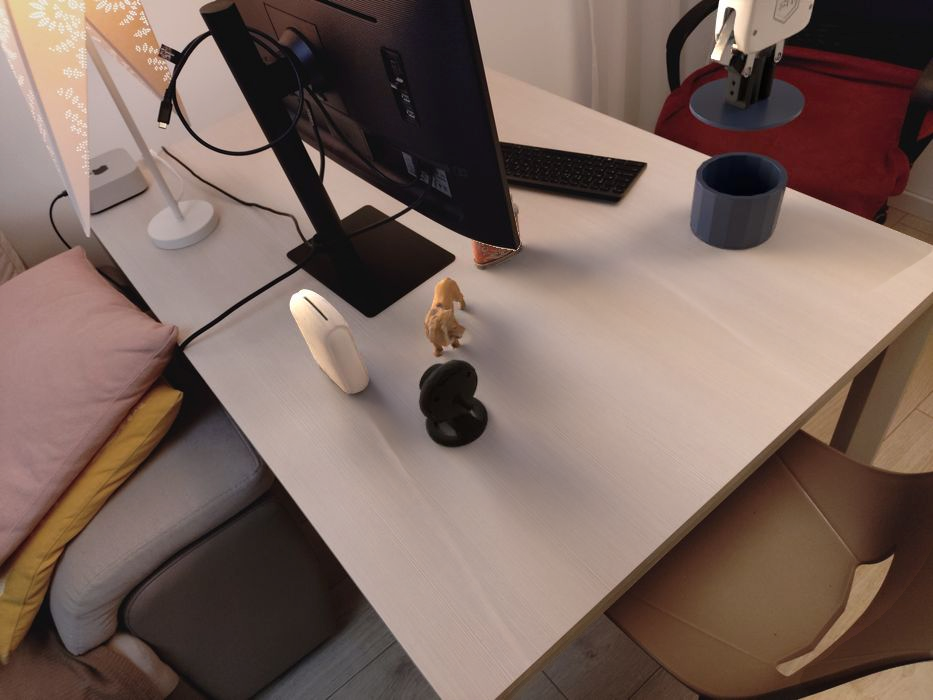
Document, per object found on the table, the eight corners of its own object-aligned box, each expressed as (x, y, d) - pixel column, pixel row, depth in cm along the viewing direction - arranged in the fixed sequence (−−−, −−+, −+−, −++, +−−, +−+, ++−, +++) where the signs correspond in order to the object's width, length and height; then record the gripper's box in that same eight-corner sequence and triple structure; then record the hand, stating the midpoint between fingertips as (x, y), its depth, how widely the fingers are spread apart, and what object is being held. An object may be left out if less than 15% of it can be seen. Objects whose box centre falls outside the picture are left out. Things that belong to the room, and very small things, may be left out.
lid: (826, 106, 73) (843, 48, 68) (748, 148, 70) (760, 90, 65) (740, 74, 81) (749, 20, 76) (666, 110, 78) (671, 57, 73)
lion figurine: (474, 370, 81) (463, 321, 74) (433, 377, 81) (419, 328, 74) (465, 294, 91) (455, 245, 84) (429, 300, 91) (416, 251, 84)
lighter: (481, 273, 93) (471, 217, 86) (470, 261, 96) (460, 206, 88) (527, 251, 95) (521, 195, 88) (515, 240, 97) (508, 184, 90)
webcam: (461, 388, 79) (447, 333, 72) (502, 420, 75) (492, 365, 67) (413, 425, 76) (394, 372, 69) (453, 461, 72) (437, 409, 64)
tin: (792, 225, 90) (807, 174, 84) (733, 260, 87) (743, 210, 81) (729, 192, 98) (738, 143, 91) (672, 223, 95) (678, 174, 88)
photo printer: (311, 359, 86) (278, 293, 77) (337, 342, 88) (308, 275, 79) (348, 401, 80) (317, 334, 71) (376, 382, 82) (349, 315, 73)
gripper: (750, -50, 57) (720, 137, 70) (871, -101, 61) (821, 85, 74) (688, -63, 61) (672, 114, 75) (804, -109, 66) (769, 66, 79)
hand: (746, 98), depth 74 cm, fingers closed on lid, 2 cm apart
